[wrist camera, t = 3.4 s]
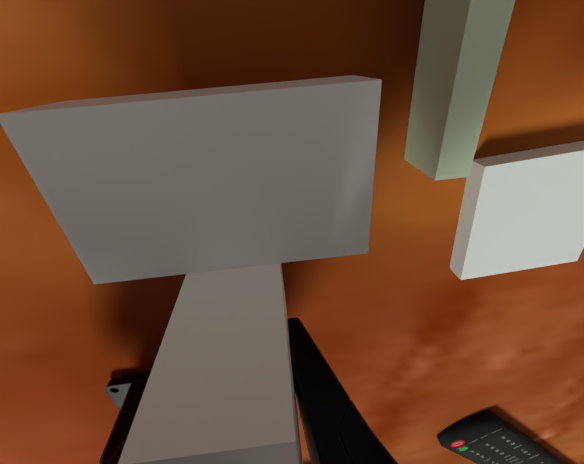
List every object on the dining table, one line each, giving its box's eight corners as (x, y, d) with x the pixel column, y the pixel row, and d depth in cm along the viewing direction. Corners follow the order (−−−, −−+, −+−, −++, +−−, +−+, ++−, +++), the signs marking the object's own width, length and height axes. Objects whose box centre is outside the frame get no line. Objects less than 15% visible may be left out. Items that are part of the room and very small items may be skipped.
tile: (551, 244, 16) (576, 260, 14) (444, 262, 16) (460, 280, 14) (596, 134, 13) (633, 142, 11) (462, 156, 13) (485, 166, 11)
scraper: (343, 353, 13) (397, 550, 8) (186, 373, 12) (133, 591, 7) (352, 75, 7) (598, 112, 2) (62, 101, 7) (-572, 228, 2)
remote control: (527, 479, 36) (536, 493, 35) (430, 427, 26) (438, 444, 25) (569, 463, 34) (579, 477, 33) (482, 401, 24) (493, 417, 23)
